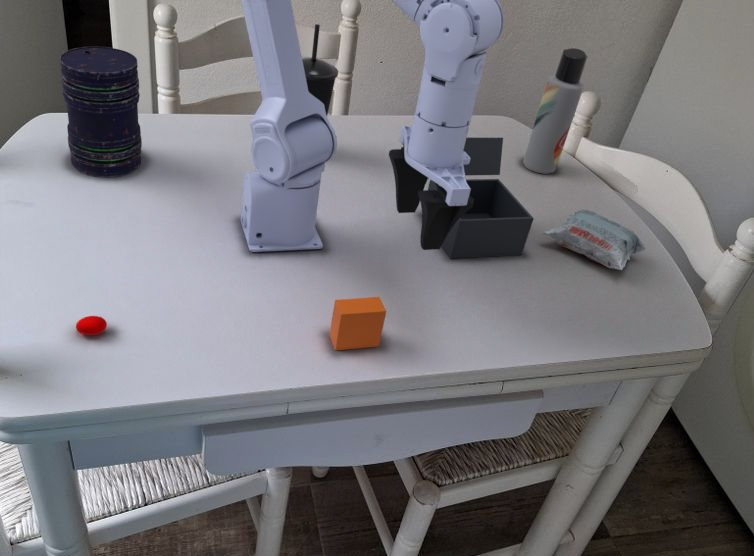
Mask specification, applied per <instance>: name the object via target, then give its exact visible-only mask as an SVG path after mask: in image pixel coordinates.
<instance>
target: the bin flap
mask: <svg viewBox="0 0 754 556" xmlns="http://www.w3.org/2000/svg"><path fill="white" fill-rule="evenodd" d="M503 144H504V137H469V136H467V138H466V142H465V146H464V150H463V151H464V152H466V153H467V155H468V156H469V157H470V158H471V159H470V163H469V164H467V165H463V166H464V172H465V176H500V175H501V167H502V166H501V165H502V154H503V146H504V145H503Z"/></svg>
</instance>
